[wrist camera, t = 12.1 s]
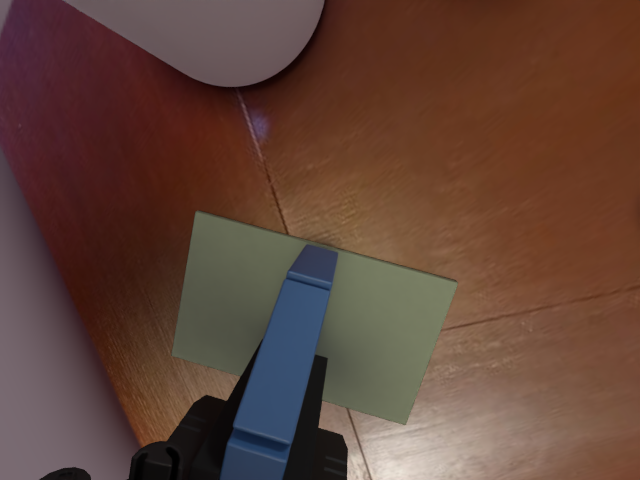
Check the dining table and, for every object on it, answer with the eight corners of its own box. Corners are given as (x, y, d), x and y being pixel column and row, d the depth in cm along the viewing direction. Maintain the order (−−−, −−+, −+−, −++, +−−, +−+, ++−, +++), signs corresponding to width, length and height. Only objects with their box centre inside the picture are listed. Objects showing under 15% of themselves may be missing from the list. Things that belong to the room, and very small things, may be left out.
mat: (174, 351, 22) (170, 356, 21) (199, 210, 20) (195, 211, 19) (404, 420, 21) (405, 425, 20) (455, 280, 19) (458, 282, 18)
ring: (295, 404, 21) (228, 672, 10) (272, 398, 21) (178, 655, 10) (341, 237, 18) (323, 334, 7) (315, 230, 19) (255, 315, 7)
